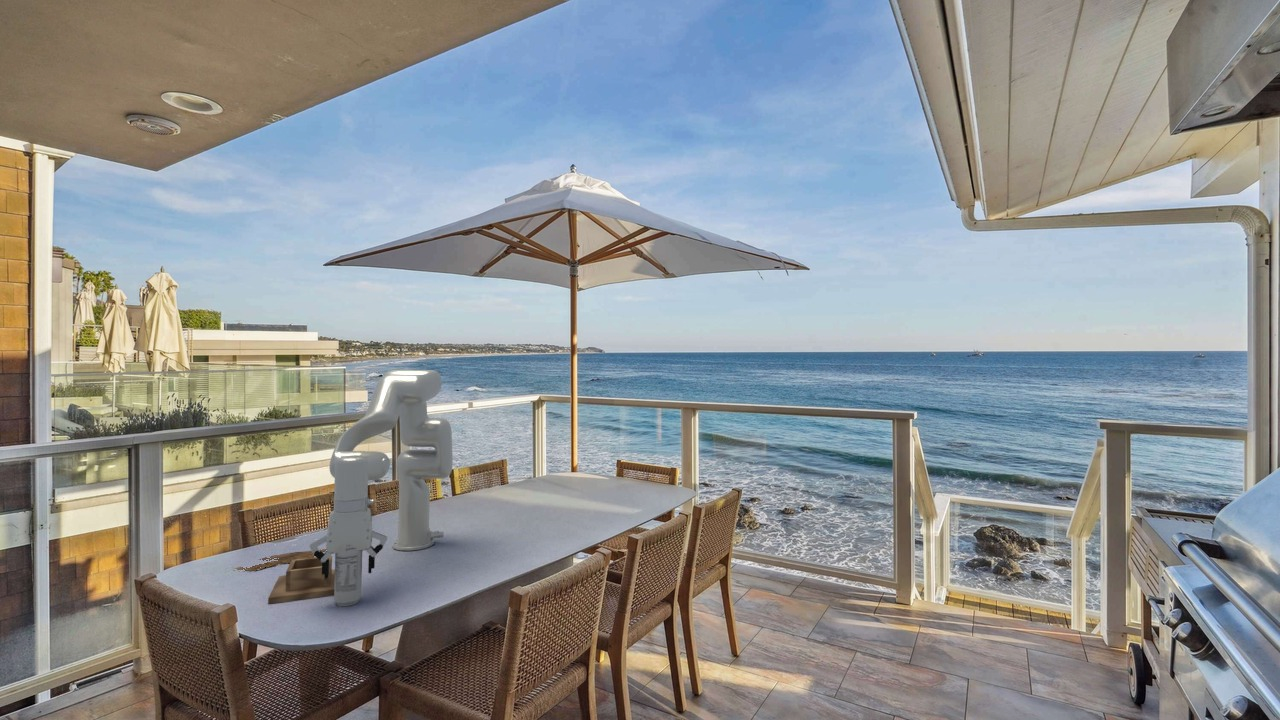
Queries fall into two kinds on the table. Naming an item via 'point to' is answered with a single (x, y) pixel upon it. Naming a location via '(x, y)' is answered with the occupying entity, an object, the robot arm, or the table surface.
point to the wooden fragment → (281, 560)
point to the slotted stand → (303, 581)
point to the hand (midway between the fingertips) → (348, 574)
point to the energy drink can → (348, 576)
